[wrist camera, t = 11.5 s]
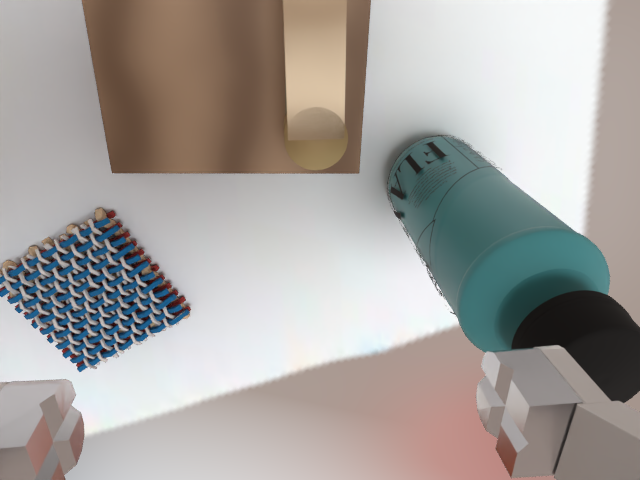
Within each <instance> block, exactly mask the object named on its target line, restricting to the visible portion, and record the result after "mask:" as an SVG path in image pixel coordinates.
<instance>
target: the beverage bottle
mask: <svg viewBox="0 0 640 480" xmlns="http://www.w3.org/2000/svg"><path fill="white" fill-rule="evenodd" d="M438 136H441V137H433V136H431V137H430V138H429V137H427V138H426V139H425V138H424V139H422V140H419V141H417V142H415V143H414V144H412V145H411V146H409V147H408V148H407V149H405V150H404V151H403V152H402V153H401V155H400V156H399V157H398V159H397V160H396V161H395V163H394V165H393V168H392V169H391V171H390V172H391V174H389V175H390V179H389V178H388V179H389V189H388V191H389V192H388V193H389V195H390V199H391V202H392V204H393V207H394V208H395V209H394V210H396V211H394V210H393V211H394V213H395V215H396V217H397V218H398V219H400V220H401V222H403V224H404V226H405V228H406V229H407V231H408V232H407V236H408V233H409V235H410V236H411V238H412V240H413V242H414V243H415V245H416V249H417V250H419V252H420V254H421V255H420V254H419V253H418V254H419V256H420V257H421V258H422V257H423V258H422V259H423V261H425V263H426V267H427V268H428V269H429V271H430V272H431V273H432V276H433V277H434V278H433V277H431V280H433V279H435V280H436V283H437V284H438V286H439V288H440V289H441V291H442V293H443V294H442V293H441V291H440V290H439V291H440V294H441V296H442V295H444V296H445V298H446V299H445V300H447V302H448V304H449V305H450V306H451V308H452V309H453V311H454V313H453V314H456V316H457V318H458V321H459V324H460V326H461V328H462V330H463V332H464V333H465V335H466V336H467V338H468V339H469V340H470V341H471V342H472V343H473V344H474V345H475V346H476V347H477V348H479V349H480V350H482V351H483V352H485V353H486V352H487V351H496V350H510V349H523V348H534V347H542V346H553V345H559V346H561V347H563V348H564V349H565V350H566V351H567V352H568V353H569V354H570V355H571V357H572V358H573V359H574V360H575V361H576V362H577V363H578V364H579V366H580V367H581V368H582V369H583V370H584V371H585V372H586V373H587V375H588V376H589V377H590V378H591V379H592V380H593V381H594V382H595V383H596V385H597V386H598V387H599V388H600V389H601V390H602V391H603V392H604V394H605V395H606V396H607V397H608V398H609V399H610V400H611V401H620V402H622V403H625V402H626V401H628V400H629V399H631V398H632V397H633V396H634V395H635V394H637V393H638V392H639V391H640V327H639V326H638V325H637V324H636V323H635V322H634V321H633V320H632V318H631V317H630V315H629V314H628V312H627V311H626V310H625V309H624V308H623V307H622V306H621V305H619V303H618V302H616V301H615V300H614V299H613V298H611V297H610V296H608V291H609V284H610V274H609V269H608V265H607V263H606V261H605V258H604V256H603V254H602V252H601V251H600V250H599V249H598V247H597V246H596V245H595V244H593V243H592V242H591V241H590V240H589V239H588V238H586V237H584V236H583V235H581V234H579V233H577V232H575V231H574V230H573V229H571V228H570V227H569V226H568V225H566V224H565V223H564V222H562V221H561V220H560V219H558V218H557V217H556V216H555V215H553V214H552V213H551V212H549V211H548V210H547V209H546V208H544V207H543V206H542V205H540V204H539V203H538V202H537V201H535V200H534V199H533V198H531V197H530V196H529V195H528V194H526V193H525V192H524V191H522V190H521V189H520V188H518V187H517V186H516V185H515V184H513V183H512V182H511V181H510V180H509V179H508V178H507V177H506V176H505V175H503V174H502V173H501V172H500V171H499V170H497V169H496V168H498V167H496V168H495V167H494V166H492V165H491V164H490V163H489V162H490V161H489V162H487V161H486V160H485V159H484V158H482V157H483V156H482V155H481V156H482V157H481V156H480V155H479V154H480V153H481V152H480V153H479V152H477V151H476V152H477V153H479V154H477V153H476V152H475V151H474V150H472V149H471V148H470V147H472V146H470V147H469V146H468V145H467V144H465V143H463V140H462V141H459V140H458V139H454V138H453V137H454V136H453V137H451V138H449V137H443V136H448V135H438ZM464 141H465V140H464ZM469 145H470V144H469ZM489 160H490V159H489ZM494 164H495V163H494ZM494 164H493V165H494ZM495 166H496V165H495ZM499 168H500V167H499ZM387 185H388V183H387ZM388 193H387V195H388ZM388 200H389V199H388ZM389 201H390V200H389ZM405 228H403V229H405ZM406 229H405V230H406ZM405 230H404V231H405ZM405 232H406V231H405ZM408 237H409V236H408ZM409 240H410V239H409ZM413 247H414V246H413ZM414 249H415V248H414ZM417 250H416V251H417ZM419 256H418V257H419ZM421 258H420V260H421V261H422V259H421ZM422 264H423V262H422ZM423 266H424V265H423ZM428 269H427V270H428ZM429 271H428V272H429ZM428 272H427V273H428ZM431 273H429V274H430V275H431ZM430 275H429V276H430ZM432 282H433V281H432ZM434 282H435V281H434ZM434 282H433V284H434ZM434 285H436V284H434ZM436 289H437V287H436ZM437 291H438V289H437ZM440 294H439V295H440ZM444 296H443V297H444ZM448 310H449V309H448ZM451 313H452V312H451Z"/></svg>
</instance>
